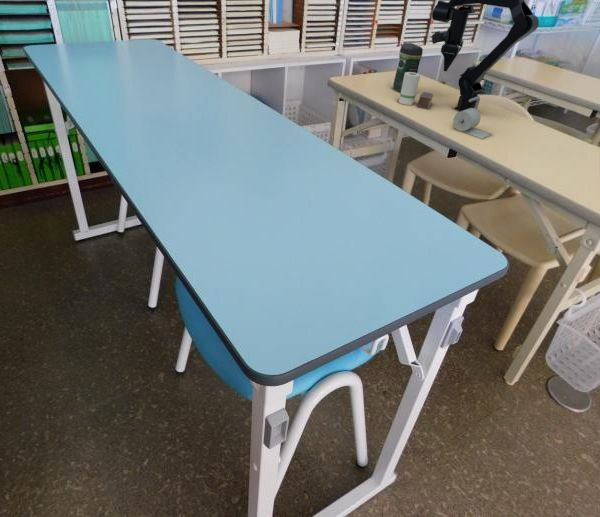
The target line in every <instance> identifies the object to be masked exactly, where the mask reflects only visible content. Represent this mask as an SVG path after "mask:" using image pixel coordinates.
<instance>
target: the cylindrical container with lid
mask: <svg viewBox="0 0 600 517" xmlns="http://www.w3.org/2000/svg"><path fill="white" fill-rule="evenodd" d="M420 78H421V74H420V73H418V72H417V73H414V72H405V74H404V79H403V84H402V89H401V92H400V93H399V98H398V102H399V103H400V104H402V105H405V106H411V105H412V106H413V105H414V104H415V100H416V97H417V91H418V87H419V83H420Z"/></svg>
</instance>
